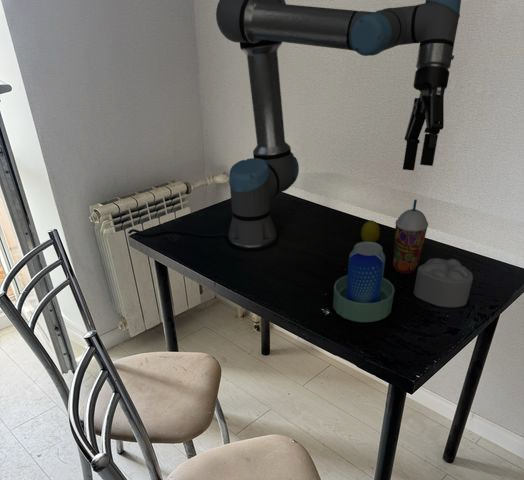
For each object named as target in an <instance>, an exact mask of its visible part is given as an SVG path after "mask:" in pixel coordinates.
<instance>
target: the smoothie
mask: <svg viewBox="0 0 524 480" xmlns="http://www.w3.org/2000/svg"><path fill="white" fill-rule="evenodd" d="M417 200H418V199H414V200H413V205H412V208H410V209H407V210H405V211H404V212H402V213H401V214H399V216H398V218H397V219H396V220H395V223H394V224H395V227H394V242H393V256H392V257H393V258H392V266H393V268H394V270H395V272H398V273H400V274H404V275H405V274H406V275H408V274H413V273H414V272H415V271H416V269H418V267H419V263H420V259H421V255H422V251H423V246H424V242H425V239H426V234H427V230H428V227H429V222H428V220H427V218H426V215H425V214H424V212H422V211H421V210H419V209H416V208H417V202H418V201H417Z"/></svg>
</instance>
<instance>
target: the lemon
mask: <svg viewBox="0 0 524 480" xmlns="http://www.w3.org/2000/svg"><path fill="white" fill-rule="evenodd" d="M380 235H381V228H380V226H379V223H378V222H376V221H374V220H373V219H370V220H368V221H366V222H365V223H364V224H363V225H362V227H361V231H360V238H361V241H362V242H374V243H377V241H378V240H379V238H380Z"/></svg>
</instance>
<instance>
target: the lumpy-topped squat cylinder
mask: <svg viewBox="0 0 524 480" xmlns="http://www.w3.org/2000/svg"><path fill="white" fill-rule="evenodd" d="M473 275H474V274H473V273H472V271H471V270H470V269H468V268H467V267H465V266H464V265H462V264H461V262H460V261H459V260H458V259H456V258H450V259H444V258H439V257H435V258H434V257H433V258H429V259H428V260H427V261H426V262H424V264H421V265H418V267H417V270H416V276H415V282H414V288H413V295H414V296H415V297H416V298H418V299H420V300H422V301H424V302H426V303H428V304H431V305H434V306H437V307H442V308H443V307H444V308H461V307H464V306H466V305H467V303H468V300H469V297H470V292H471V288H472V284H473V280H474V276H473Z"/></svg>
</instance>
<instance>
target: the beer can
mask: <svg viewBox="0 0 524 480" xmlns="http://www.w3.org/2000/svg"><path fill="white" fill-rule="evenodd" d="M385 265H386V255H385V253H384V251H383V246H382V245H381V244H379V243H377V242H375V243H374V242H364V241H361V242H357V243H356V244H355V245H354V246H353V249H352V251H350V253H349V256H348V268H347V275H348V278H347V290H346V299H348V300H351V301H353V302H359V303H375V302H380V297H381V289H382V281H383V278H384V273H385Z"/></svg>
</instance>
